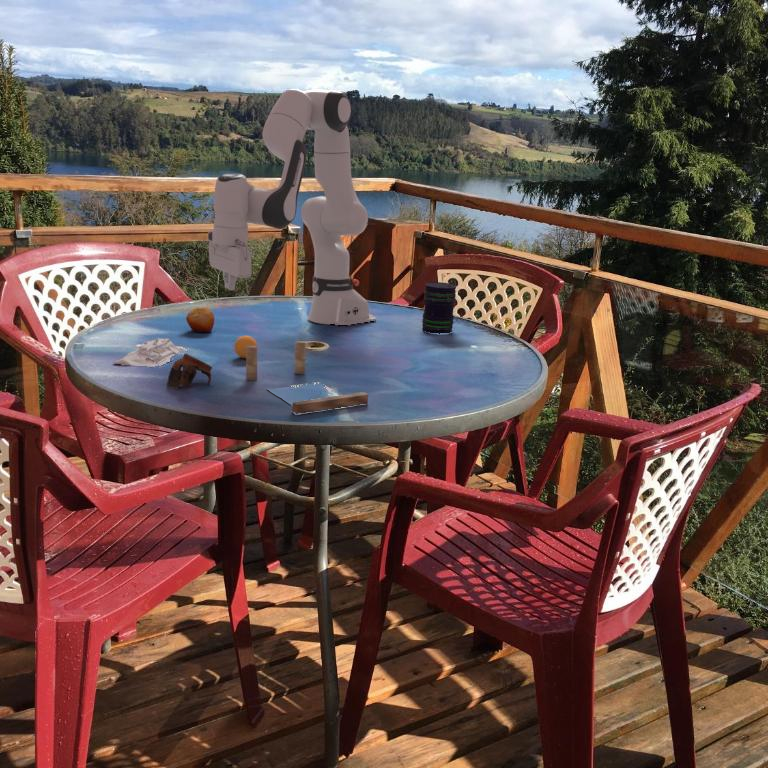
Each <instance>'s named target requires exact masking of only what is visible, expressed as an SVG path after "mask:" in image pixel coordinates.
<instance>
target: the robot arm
mask: <svg viewBox="0 0 768 768" xmlns="http://www.w3.org/2000/svg"><path fill="white" fill-rule="evenodd" d="M351 116H352V103H351V100H350V99H349V98H348V96H347V94H346V93H344V92H342V91H338V90H335V89H333V90H326V89H311V90H303V91H302V90H300V89H296V88H289V89H286V90H285V91H284V92H282V94H281V95H280V97H278V99H277V101H276V103H274V105H273V107H272V109H271V110H270V112H269V114H268V116H267V119H266V121H265V123H264V125H263V129H262V139H263V143H264V146H265V147H266V148H267V150H268V151H270V153H271V154H272V156H274V157H276V158H277V159H279V160H282V161H283V162H284V166H283V170H282V173H281V179H280V182H279V185H278V186H277V187H275V188H271V189H270V188H261V187H256V186H254V185H252V184H251V183H249V182H248V181H247V177H246V176H245V175H244V174H242V173H225V174H222V175H220V176H218V177H217V179H216V182H215V184H214V185H215V186H214V193H213V197H214V198H213V209H214V210H213V211H214V216H215V217H214V222H213V229H212V230H211V231H209V232H207V240H208V241H209V242H208V261H209V264H210V267H211V268H214V269H216V270H218V271H220V272H222V278H223V281H224V289H226V290H227V291H231V292H232V291H235V290H236V283H237V281H238V279H250V278H251V276H252V273H253V272H252V267H253V265H252V253H251V250H250V249H249V247H248V233H249V231H248V230H249V226H248V225H249V224H253V225H259V226H266V227H269V228H274V229H277V230H283V229H285V228H287V227H288V226H289V225H290V224H291V223H292V222H293V221H294V219H295V218H296V214H297V208H298V207H297V206H298V205H297V203H298V196H299V192H300V187H301V184H302V179H303V175H304V171H305V167H306V162H307V156H308V155H307V154H308V153H307V152H308V151H307V148H306V145H305V143H303V141H304V138H305V135H306V132H307V130H309V131H314V138H313V139H314V140H313V142H314V143H313V151H314V152H313V155H314V160H313V161H314V177H315V179H316V182H317V183H318V184H319V185H320V186H321V189H322V190H323V193H324V195H319V196H315V197H310V198H308V199H306V200H305V201H304V202H303V204H302V206H301V210H300V217H301V219H302V223H303V224H304V225H305V226H306V227H307V229H308V231H309V234H310V237H311V242H312V245H313V249H314V250H313V251H314V275H313V276H312V302H311V306H310V311H309V313H308V316H307V320H308V321H310V322H313V323H316V324H321V325H330V324H335V325H334V326H338V325H348V326H352V325H351V324H355V325H357V324H356V323H361V324H365V323H364V322H368V323H371V322H370V321H374V322H376V321H377V318H376V316H375V315H373V314H370V307H369V306H370V305H369V303H368V301H367V299H366V298H364V297H363V296H362V295H361V294H360V293H359V292H357V290H356V289H354V286H355V287H358V286H359V284H360V281H359V280H358V279H356V278H353V279H352V278H351V277H349V276H350V252H349V250H348V249H347V247H345V245H344V243H343V240H342V236H344V237H351V236H357V235H358V236H359V235H360V234H362V233H364V232H365V229H366V228H367V225H368V222H369V214H368V211H367V209H366V207H365V206H364V205H363V204H362V203H361V202H360V199H359V197H358V196H357V193H356V190H355V187H354V184H353V183H354V182H353V179H352V167H351V166H352V165H351V164H352V163H351V162H352V161H351V141H350V140H351V139H350V132H349V126H348V124H349V123H350V120H351ZM375 320H376V321H375Z"/></svg>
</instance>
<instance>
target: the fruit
mask: <svg viewBox="0 0 768 768" xmlns="http://www.w3.org/2000/svg"><path fill="white" fill-rule="evenodd" d="M185 319H186V323H187V325H188V326H189V328H190V330H191V331H192V332H193V331H194V333H209V332H211V331H212V330H213V328H214V325H215V316H214V312H213V311H211V309H210V308H208V307H204V306H203V307H195V308H193V309H191V310H190V311H189V312H188V314H187V315H186V318H185Z"/></svg>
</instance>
